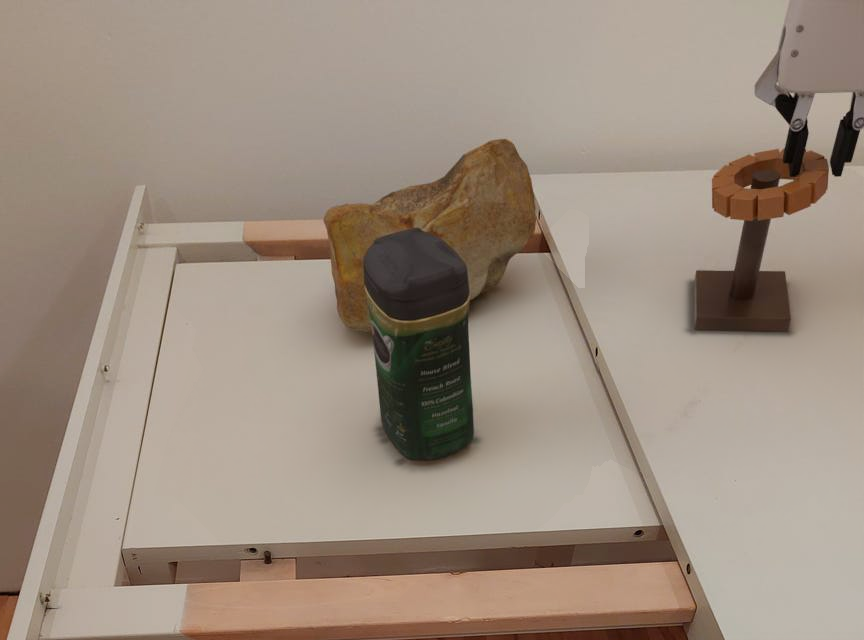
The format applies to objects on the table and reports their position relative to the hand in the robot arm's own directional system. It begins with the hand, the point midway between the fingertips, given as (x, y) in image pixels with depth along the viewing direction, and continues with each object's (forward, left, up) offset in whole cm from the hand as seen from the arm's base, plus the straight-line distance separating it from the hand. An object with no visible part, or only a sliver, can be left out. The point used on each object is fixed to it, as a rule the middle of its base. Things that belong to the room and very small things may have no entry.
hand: (814, 168), depth 85 cm
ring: (+4, 0, -2) cm, 4 cm away
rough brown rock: (+38, -2, -14) cm, 41 cm away
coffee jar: (+33, +23, -14) cm, 43 cm away
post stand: (+4, 0, -14) cm, 15 cm away
